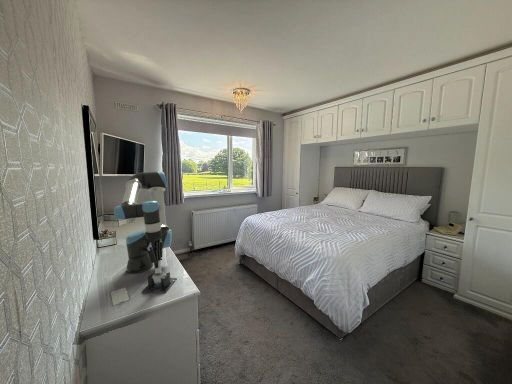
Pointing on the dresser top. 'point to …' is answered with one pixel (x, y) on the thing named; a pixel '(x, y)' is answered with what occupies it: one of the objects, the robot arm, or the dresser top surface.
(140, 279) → the dresser top surface
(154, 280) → the cap
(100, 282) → the dresser top surface
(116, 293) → the smartphone
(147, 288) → the dark grey holder
